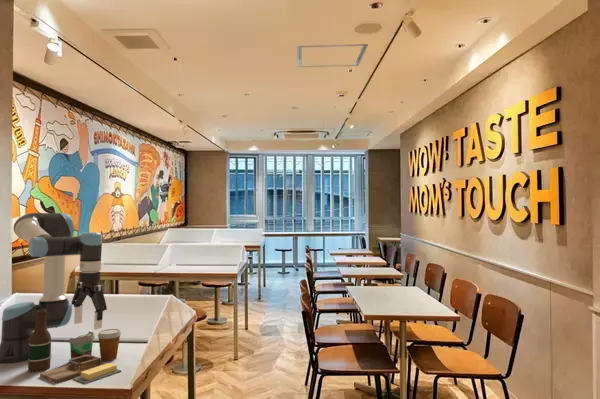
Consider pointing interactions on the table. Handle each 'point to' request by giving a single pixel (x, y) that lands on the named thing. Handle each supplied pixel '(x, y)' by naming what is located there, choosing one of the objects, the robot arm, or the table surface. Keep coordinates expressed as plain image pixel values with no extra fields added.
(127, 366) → the table surface
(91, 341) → the food container
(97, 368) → the mustard bar
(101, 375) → the charcoal mat
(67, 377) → the walnut jig
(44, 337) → the beer bottle
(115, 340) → the disposable coffee cup
